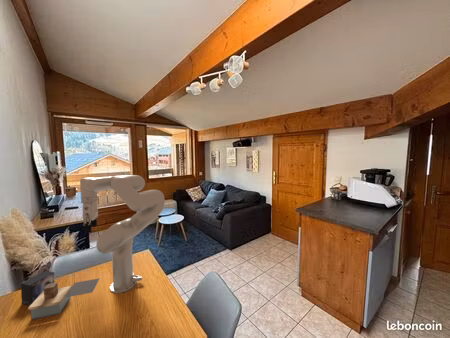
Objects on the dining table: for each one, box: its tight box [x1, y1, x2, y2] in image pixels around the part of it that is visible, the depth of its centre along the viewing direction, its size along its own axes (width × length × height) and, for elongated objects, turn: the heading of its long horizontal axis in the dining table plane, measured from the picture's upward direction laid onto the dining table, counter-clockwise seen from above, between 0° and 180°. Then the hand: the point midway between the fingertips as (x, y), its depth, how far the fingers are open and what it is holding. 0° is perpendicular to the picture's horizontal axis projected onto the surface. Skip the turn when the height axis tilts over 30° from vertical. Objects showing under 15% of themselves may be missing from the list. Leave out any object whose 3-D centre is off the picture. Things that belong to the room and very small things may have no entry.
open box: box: [30, 291, 71, 321], centre depth 87 cm, size 10×10×5 cm
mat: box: [70, 277, 100, 298], centre depth 101 cm, size 12×12×1 cm
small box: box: [20, 270, 55, 306], centre depth 94 cm, size 11×6×10 cm, turn 168°
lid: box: [27, 282, 72, 311], centre depth 87 cm, size 11×11×6 cm
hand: (90, 229), depth 109 cm, fingers open, 9 cm apart
